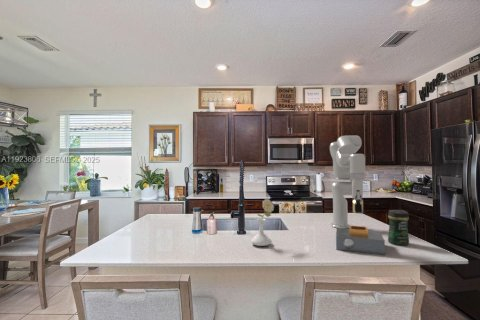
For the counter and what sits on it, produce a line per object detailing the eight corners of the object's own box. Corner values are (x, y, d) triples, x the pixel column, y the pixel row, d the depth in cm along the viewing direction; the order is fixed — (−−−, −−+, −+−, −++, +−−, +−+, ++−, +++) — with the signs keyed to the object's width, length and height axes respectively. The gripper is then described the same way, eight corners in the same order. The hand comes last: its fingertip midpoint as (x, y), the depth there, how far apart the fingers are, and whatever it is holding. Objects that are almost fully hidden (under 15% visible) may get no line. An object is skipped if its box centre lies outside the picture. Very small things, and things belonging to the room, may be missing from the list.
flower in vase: (254, 248, 134) (254, 201, 134) (248, 242, 145) (248, 198, 145) (277, 246, 137) (277, 199, 137) (269, 240, 148) (269, 197, 148)
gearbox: (336, 239, 148) (336, 222, 148) (379, 244, 140) (379, 225, 140) (336, 250, 131) (336, 230, 131) (385, 255, 123) (384, 234, 123)
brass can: (352, 211, 139) (352, 196, 140) (362, 212, 138) (362, 196, 138) (353, 213, 135) (352, 197, 135) (363, 213, 133) (363, 197, 133)
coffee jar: (394, 245, 137) (394, 211, 137) (385, 241, 145) (385, 208, 145) (412, 245, 137) (411, 211, 138) (402, 241, 145) (401, 208, 146)
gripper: (349, 176, 146) (349, 207, 145) (350, 177, 130) (350, 213, 130) (363, 176, 143) (364, 208, 143) (366, 177, 127) (367, 214, 127)
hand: (357, 210), depth 136 cm, fingers closed on brass can, 5 cm apart
